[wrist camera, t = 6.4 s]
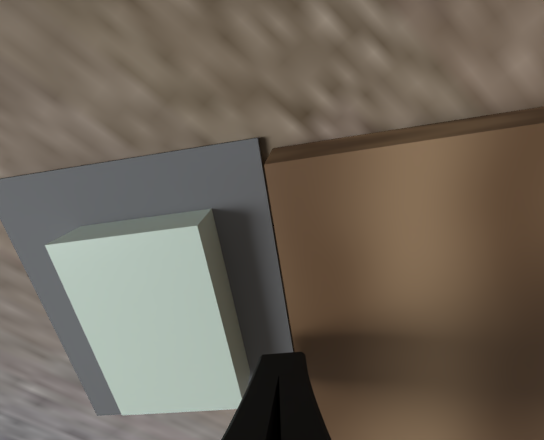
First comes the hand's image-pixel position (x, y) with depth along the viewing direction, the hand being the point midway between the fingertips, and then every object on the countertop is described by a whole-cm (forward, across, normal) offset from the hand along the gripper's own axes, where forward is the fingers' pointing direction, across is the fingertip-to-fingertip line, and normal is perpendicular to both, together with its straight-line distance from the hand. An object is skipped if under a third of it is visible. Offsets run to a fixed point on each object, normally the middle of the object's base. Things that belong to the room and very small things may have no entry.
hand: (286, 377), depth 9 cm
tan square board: (+5, -8, 0) cm, 9 cm away
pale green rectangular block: (+3, +6, 0) cm, 6 cm away
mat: (+5, +6, 0) cm, 8 cm away
